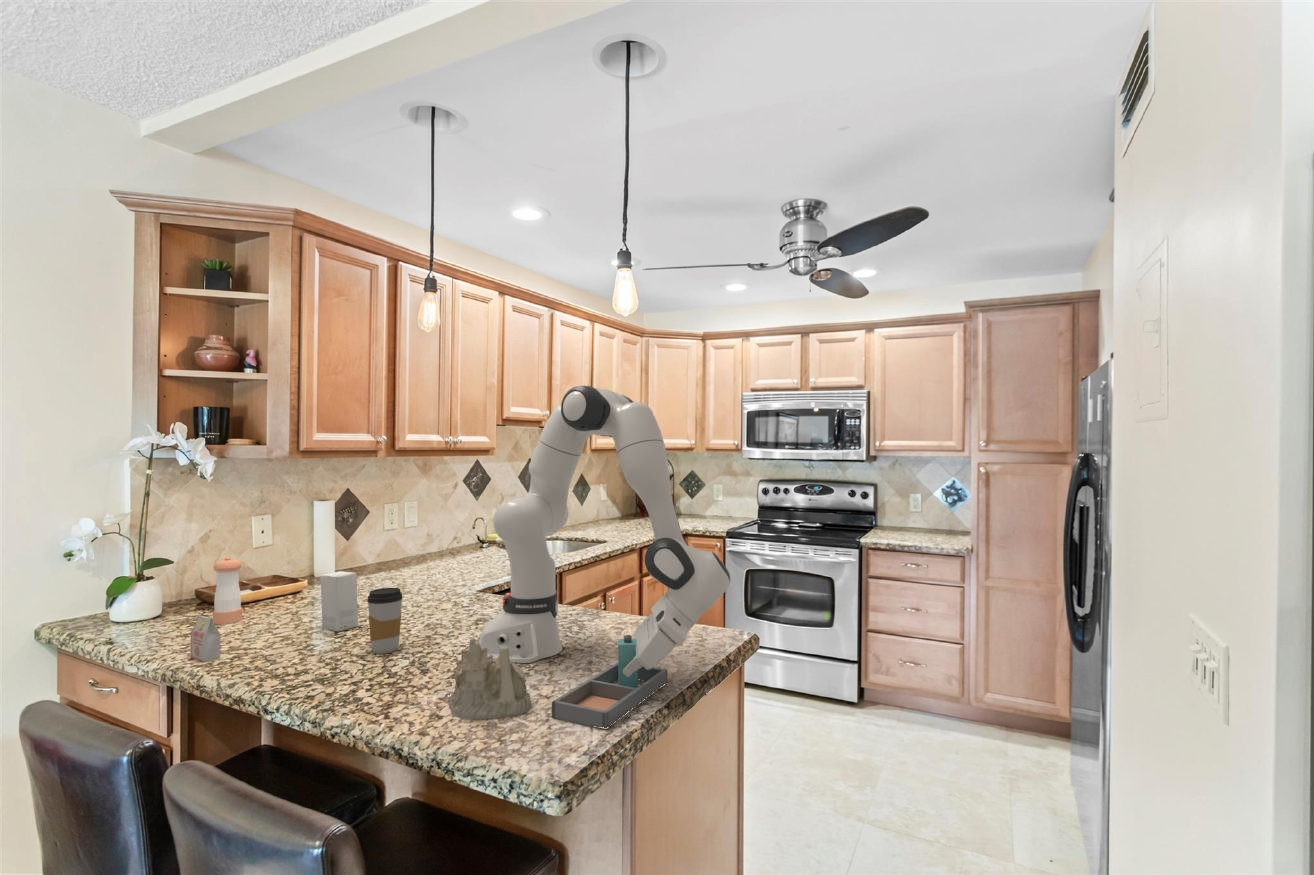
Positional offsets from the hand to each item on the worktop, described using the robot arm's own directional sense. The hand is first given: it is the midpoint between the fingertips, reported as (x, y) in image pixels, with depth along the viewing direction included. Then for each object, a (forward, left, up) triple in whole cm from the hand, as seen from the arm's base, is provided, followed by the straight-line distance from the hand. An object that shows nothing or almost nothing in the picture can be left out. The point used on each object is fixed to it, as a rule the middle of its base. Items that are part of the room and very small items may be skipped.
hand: (624, 665), depth 134 cm
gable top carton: (-103, +29, -5) cm, 108 cm away
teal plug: (+1, 0, -5) cm, 5 cm away
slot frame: (-2, -5, -5) cm, 8 cm away
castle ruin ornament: (-27, -5, -5) cm, 28 cm away
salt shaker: (-119, +63, -5) cm, 135 cm away
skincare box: (-82, +53, -5) cm, 98 cm away
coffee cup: (-61, +31, -5) cm, 69 cm away
